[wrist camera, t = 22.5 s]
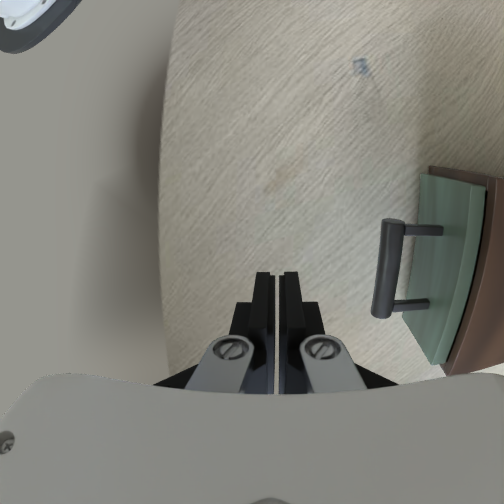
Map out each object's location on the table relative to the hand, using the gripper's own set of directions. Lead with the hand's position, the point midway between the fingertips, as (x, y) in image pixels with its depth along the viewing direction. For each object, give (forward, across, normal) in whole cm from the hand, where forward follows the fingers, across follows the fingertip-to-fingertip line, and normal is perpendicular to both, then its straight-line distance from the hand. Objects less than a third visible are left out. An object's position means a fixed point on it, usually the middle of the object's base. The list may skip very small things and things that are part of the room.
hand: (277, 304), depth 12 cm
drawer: (+8, -15, +1) cm, 17 cm away
